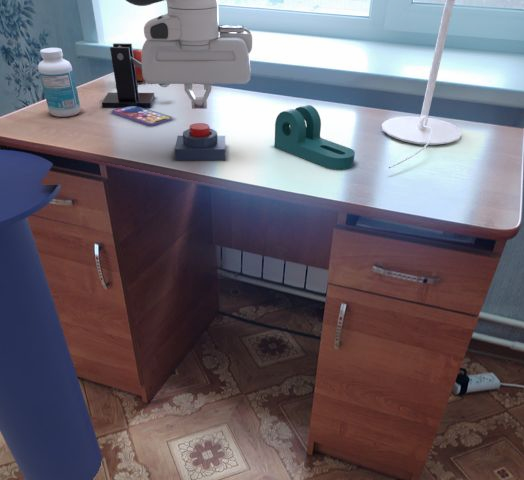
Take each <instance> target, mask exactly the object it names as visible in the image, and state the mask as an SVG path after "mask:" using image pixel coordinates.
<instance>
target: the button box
mask: <svg viewBox="0 0 524 480" xmlns="http://www.w3.org/2000/svg"><path fill="white" fill-rule="evenodd" d="M174 158H175V161H226V135H218V131H217V130H215V129H213V128H210V135H209V136H206V137H193V136H191V135H190V128H187V129H186V130H184V131H183V132H182V135H177V138H176V141H175V146H174Z"/></svg>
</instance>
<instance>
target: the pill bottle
mask: <svg viewBox="0 0 524 480" xmlns="http://www.w3.org/2000/svg"><path fill="white" fill-rule="evenodd" d="M39 52H40V57H41V58H42V60H41V61H40V62H39V63H38V65H37V70H38V73H39V78H40V81H41V85H42V88H43V93H44V98H45V101H46V104H47V109H48V112H49V114H50V115H52V116H53V117H56V118H57V117H58V118H68V117H73V116H76V115H78V114H80V112H81V110H82V109H81V103H80V98H79V93H78V89H77V85H76V81H75V76H74V71H73V65H72V64H71V63H70V61H69V60H67V59H65V58H64V57H63V56H64V54H63V50H62V48H60V47H47V48H42V49H40V50H39Z"/></svg>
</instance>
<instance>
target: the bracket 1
mask: <svg viewBox="0 0 524 480" xmlns="http://www.w3.org/2000/svg"><path fill="white" fill-rule="evenodd" d="M119 45H120V46H122V47H118V46H119ZM109 50H110V58H111V62H112V70H113V75H114V81H115V88H116V92H107V94H106V95H105V97H104V98H103V100H102V101H101V108H103V109H106V108H108V109H119V108H123V107H127V106H139V107H142V108H145V109H151V108H152V105H153V103H154V100H155V92H139V89H138V81H137V80H136V72H135V65H134V64H132V63H131V57H133V50H134V49H133V44H132V43H119V42H118V43H112V46H110V47H109ZM133 58H134V57H133Z"/></svg>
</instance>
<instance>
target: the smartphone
mask: <svg viewBox="0 0 524 480" xmlns="http://www.w3.org/2000/svg"><path fill="white" fill-rule="evenodd" d="M111 113H112V114H113V115H115V116H118V117H121V118H123V119H126V120H128V121H129V120H130V121H132V122H136V123H138V124H141V125H143V126H147V127H155V126H159V125H163V124H166V123H168V122H171V121H173V117H172V116H170V115H168V114H163V113H162V112H161V113H160V112H158V111H154V110H151V109H149V108H142V107H139V106H127V107H123V108H114V109H112V110H111Z"/></svg>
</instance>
